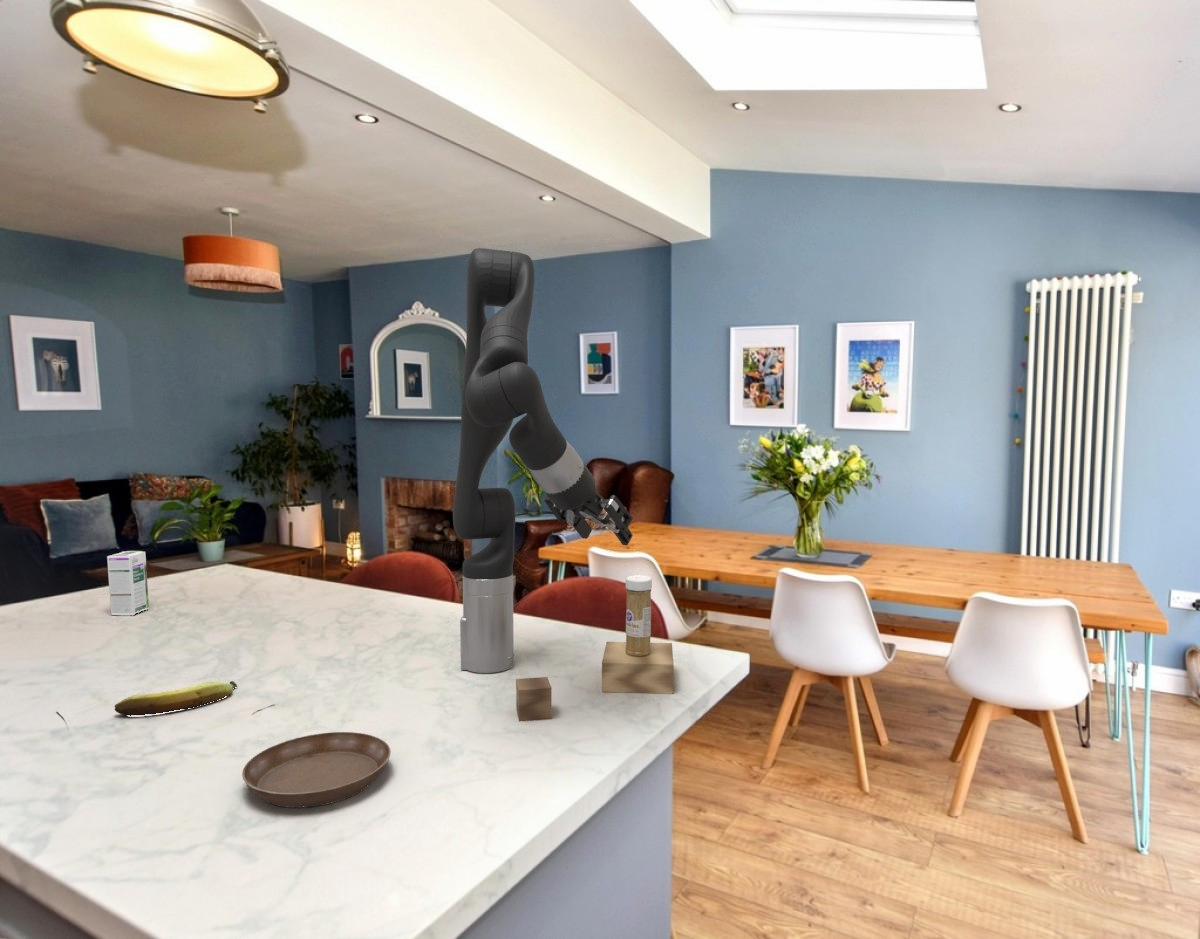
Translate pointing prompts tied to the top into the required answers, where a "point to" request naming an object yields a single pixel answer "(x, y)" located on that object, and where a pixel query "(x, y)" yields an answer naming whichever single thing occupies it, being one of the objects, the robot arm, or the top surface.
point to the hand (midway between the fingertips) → (607, 537)
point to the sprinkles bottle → (638, 615)
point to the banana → (175, 699)
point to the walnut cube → (533, 699)
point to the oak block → (638, 669)
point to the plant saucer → (316, 768)
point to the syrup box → (128, 582)
